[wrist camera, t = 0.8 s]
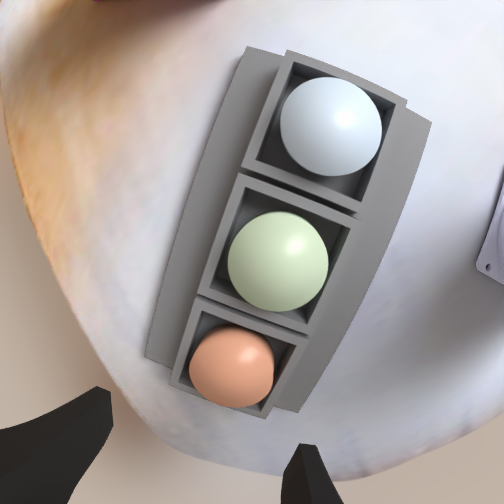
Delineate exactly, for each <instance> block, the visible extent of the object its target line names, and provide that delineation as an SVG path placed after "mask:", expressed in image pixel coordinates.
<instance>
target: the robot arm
mask: <svg viewBox="0 0 504 504" xmlns="http://www.w3.org/2000/svg"><path fill="white" fill-rule="evenodd" d="M487 264H488V267H487V269H486V266H487ZM476 268H477V270H478V271H480V272H482V273H484V274H486V275H487V276H489V277H491V278H493V279H494V280H496V281H498V282H499V283H501V284H503V285H504V183H503V187H502V190H501V194H500V197H499V201H498V204H497V207H496V210H495V213H494V216H493V219H492V222H491V225H490V228H489V231H488V234H487V236H486V239H485V242H484V244H483V247H482V249H481V252H480V254H479V257H478V259H477V262H476ZM110 393H111V392H110V391H107V390H105V389H102V388H100V387H98V386H96V387H94V388H92V389H91V390H89V391H87V392H86V393H84V394H82V395H80V396H79V397H77V398H75V399H74V400H72V401H70V402H69V403H66V404H64V405H62V406H61V407H59V408H57V409H55V410H53V411H51V412H49V413H47V414H44V415H42V416H40V417H38V418H35V419H33V420H30V421H28V422H25V423H22V424H19V425H16V426H13V427H9V428H5V429H0V504H67V503H68V501H69V499H70V497H71V495H72V493H73V491H74V489H75V487H76V485H77V484H78V482H79V481H80V479H81V478H82V476H83V475H84V473H85V472H86V470H87V469H88V468H89V466H90V465H91V463H92V462H93V460H94V459H95V457H96V456H97V454H98V453H99V451H100V450H101V449H102V447H103V446H104V444H105V442H106V440H107V438H108V436H109V434H110V431H111V429H112V427H113V416H112V405H111V394H110ZM281 504H344V503H343V502H342V500H341V498H340V496H339V494H338V492H337V490H336V489H335V487H334V485H333V483H332V481H331V479H330V477H329V475H328V472H327V470H326V468H325V466H324V463H323V461H322V459H321V456H320V454H319V451H318V449H317V447H316V445H309V444H301V443H299V445H298V447H297V449H296V451H295V453H294V455H293V456H292V458H291V460H290V462H289V464H288V466H287V467H286V469H285V471H284V474H283V481H282V490H281Z"/></svg>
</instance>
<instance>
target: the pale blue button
mask: <svg viewBox="0 0 504 504" xmlns="http://www.w3.org/2000/svg"><path fill="white" fill-rule="evenodd" d="M280 128H281V138H282V142H283V145H284V148H285V150H286V152H287V153H288V155H289V156H290V158H291V159H292V160H293V161H294V162H295V163H296V164H297V165H298V166H299V167H301V168H302V169H304V170H306V171H308V172H310V173H312V174H315V175H320V176H340V175H346V174H350V173H353V172H355V171H357V170H359V169H361V168H362V167H364V166H365V165H366V164H367V163H369V162H370V160H371V159H372V158H373V157H374V155H375V154H376V152H377V150H378V147H379V145H380V141H381V135H382V126H381V120H380V116H379V113H378V111H377V108H376V106H375V105H374V103H373V101H372V100H371V99H370V97H369V96H368V95H367V94H366V93H365V92H364V91H363V90H361V89H360V88H359V87H357V86H356V85H354V84H352V83H350V82H348V81H345V80H342V79H338V78H332V77H322V78H316V79H312V80H309V81H307V82H305V83H303V84H301V85H300V86H298V87H297V88H296V89H295V90H294V91H293V92H292V93H291V94H290V95H289V97H288V98H287V100H286V101H285V103H284V106H283V109H282V112H281V118H280Z"/></svg>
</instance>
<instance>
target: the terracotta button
mask: <svg viewBox="0 0 504 504" xmlns="http://www.w3.org/2000/svg"><path fill="white" fill-rule="evenodd" d="M273 372H274V351H273V348H272V346H271V344H270V342H269V341H268V340H267V338H266V337H265V336H264V335H263V334H262V333H260V332H257V331H254V330H252V329H249V328H246V327H244V326H241V325H238V324H235V323H230V324H223V325H219V326H217V327H214V328H213V329H211V330H210V331H208V332H207V333H206V334H205V335H204V337H203V338H202V340H201V342H200V344H199V346H198V347H197V349H196V351H195V353H194V355H193V357H192V360H191V362H190V366H189V373H190V378H191V381H192V383H193V385H194V387H195V388H196V389H197V391H198V392H199V393H200V394H201V395H203V396H204V397H205V398H207V399H208V400H210V401H212V402H213V403H216V404H218V405H222V406H226V407H233V408H239V407H246V406H250V405H253V404H255V403H258V402H259V401H261V400H262V399H263V398H265V396H266V395H267V394H268V393H269V391H270V389H271V387H272V383H273Z"/></svg>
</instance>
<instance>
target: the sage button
mask: <svg viewBox="0 0 504 504" xmlns="http://www.w3.org/2000/svg"><path fill="white" fill-rule="evenodd" d="M228 271H229V275H230V279H231V281H232V284H233V285H234V287H235V289H236V290H237V292H238V293H239V294H240V295H241V296H242V297H243V298H244V299H245V300H246V301H248V302H249V303H250V304H252V305H254V306H256V307H258V308H260V309H264V310H268V311H276V312H281V311H289V310H293V309H296V308H298V307H300V306H303V305H304V304H306V303H307V302H309V301H310V300H311V299H312V298H314V296H315V295H316V294H317V293H318V292H319V290H320V289H321V287H322V286H323V284H324V282H325V279H326V276H327V271H328V255H327V251H326V248H325V245H324V243H323V241H322V239H321V237H320V236H319V234H318V233H317V231H316V230H315V228H314V227H313V226H312V225H311V223H310V222H308V221H307V220H306V219H305V218H303V217H302V216H300V215H298V214H296V213H293V212H290V211H285V210H272V211H267V212H264V213H261V214H259V215H257V216H255V217H254V218H252V219H251V220H250V221H249V222H248V223H247V224H246V225H245V226H244V227H243V228H242V229H241V231H240V232H239V233H238V234H237V235H236V237H235V239H234V240H233V242H232V245H231V247H230V250H229V255H228Z"/></svg>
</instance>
